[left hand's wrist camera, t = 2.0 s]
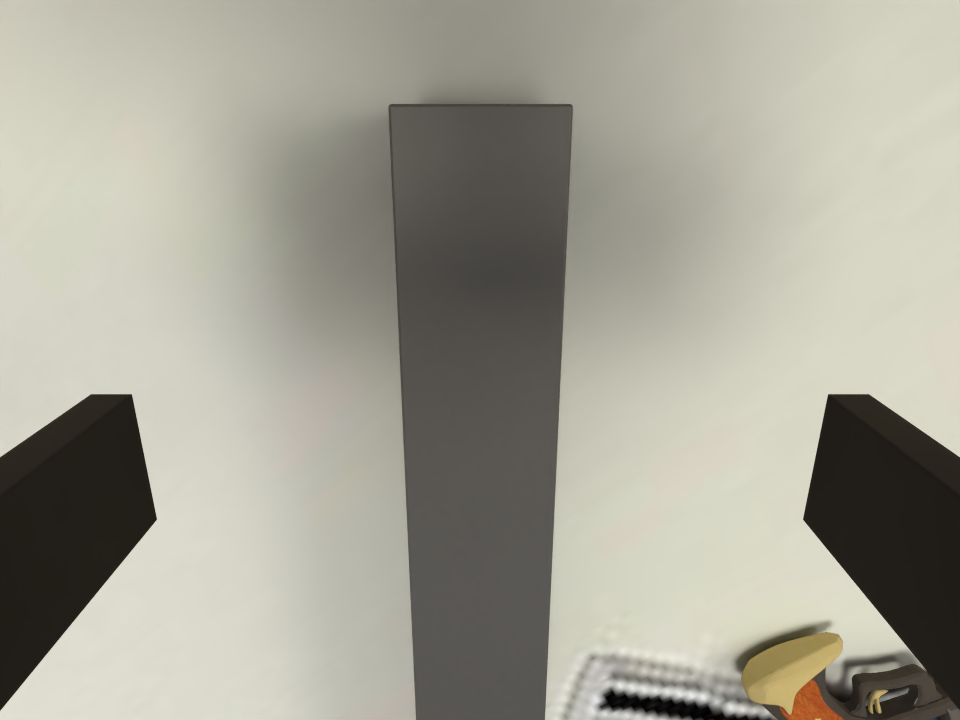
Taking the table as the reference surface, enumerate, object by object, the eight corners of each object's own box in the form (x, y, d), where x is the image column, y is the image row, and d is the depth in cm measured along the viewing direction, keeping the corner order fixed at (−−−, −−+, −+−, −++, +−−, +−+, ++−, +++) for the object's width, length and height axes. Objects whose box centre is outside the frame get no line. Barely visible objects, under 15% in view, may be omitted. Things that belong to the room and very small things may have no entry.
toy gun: (748, 687, 31) (801, 843, 33) (1138, 553, 30) (1168, 723, 32) (726, 650, 34) (776, 797, 36) (1084, 526, 33) (1114, 685, 35)
